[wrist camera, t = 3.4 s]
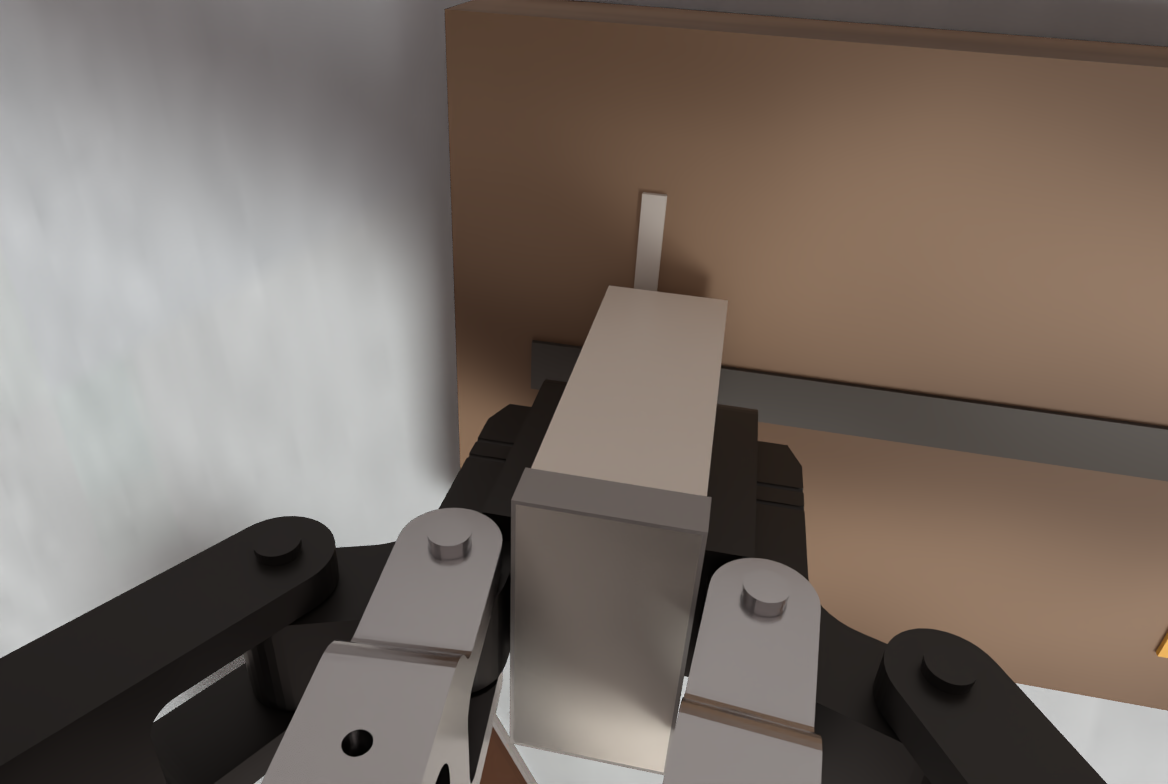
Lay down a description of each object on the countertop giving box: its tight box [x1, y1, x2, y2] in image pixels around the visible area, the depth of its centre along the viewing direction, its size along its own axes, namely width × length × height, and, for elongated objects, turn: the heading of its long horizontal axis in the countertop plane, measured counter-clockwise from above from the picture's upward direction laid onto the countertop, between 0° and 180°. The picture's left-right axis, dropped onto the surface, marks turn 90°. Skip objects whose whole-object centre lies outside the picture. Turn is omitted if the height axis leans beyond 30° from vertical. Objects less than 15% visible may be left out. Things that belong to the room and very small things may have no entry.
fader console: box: [445, 0, 1168, 710], centre depth 15 cm, size 12×18×3 cm, turn 87°
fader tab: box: [510, 286, 728, 775], centre depth 12 cm, size 4×2×6 cm, turn 177°
